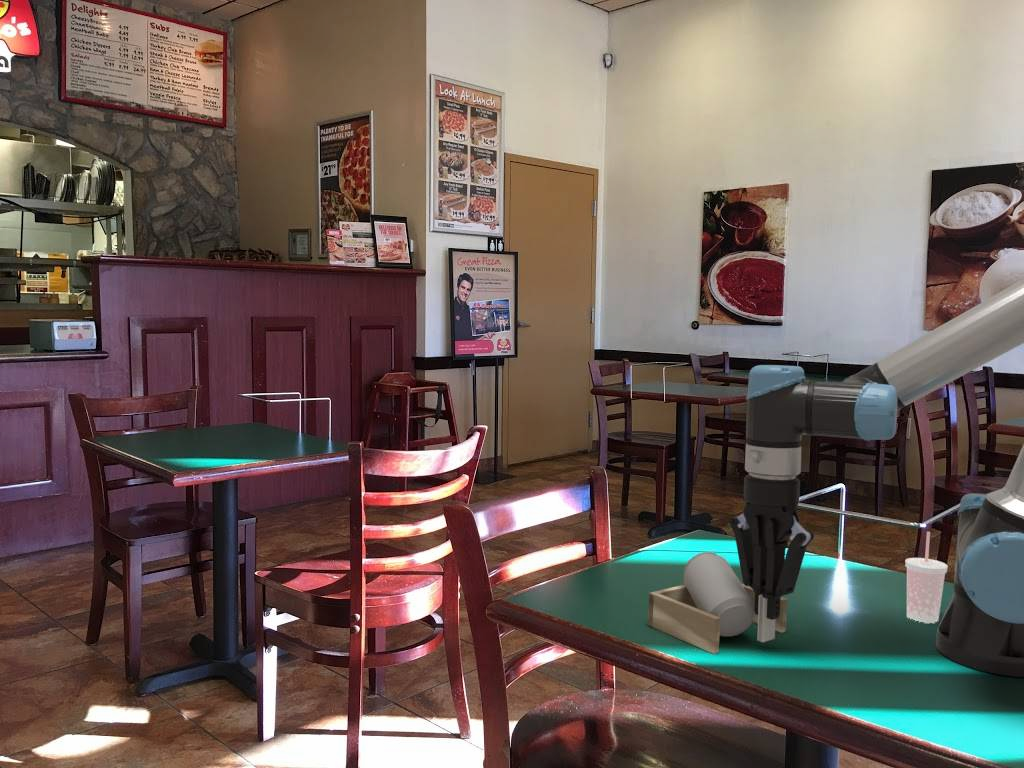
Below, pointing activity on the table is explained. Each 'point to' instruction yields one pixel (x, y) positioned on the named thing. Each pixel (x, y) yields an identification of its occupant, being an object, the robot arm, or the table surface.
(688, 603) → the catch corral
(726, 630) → the can
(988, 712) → the table surface
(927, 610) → the beverage cup
